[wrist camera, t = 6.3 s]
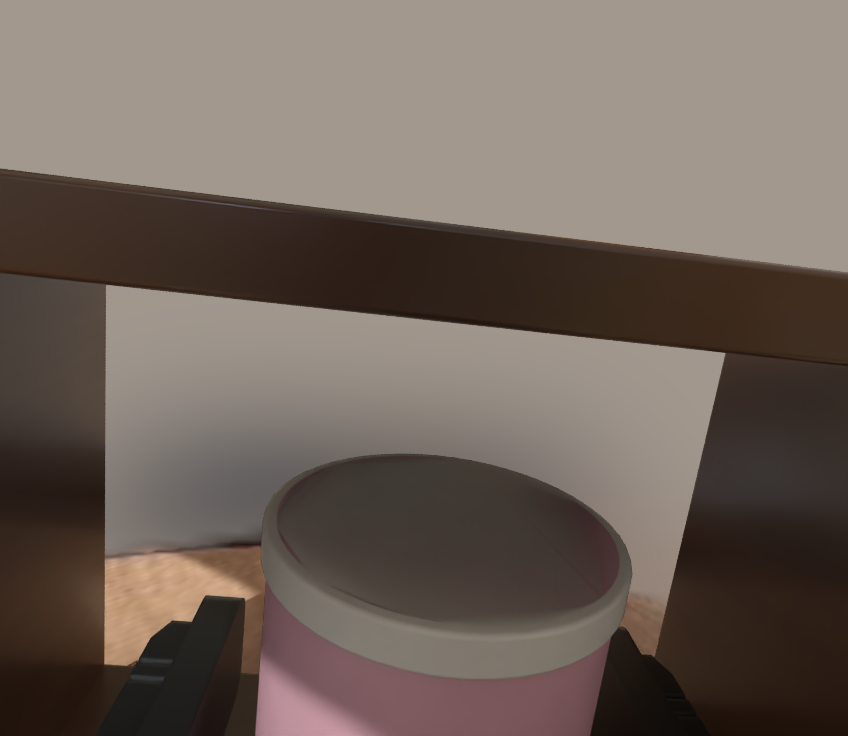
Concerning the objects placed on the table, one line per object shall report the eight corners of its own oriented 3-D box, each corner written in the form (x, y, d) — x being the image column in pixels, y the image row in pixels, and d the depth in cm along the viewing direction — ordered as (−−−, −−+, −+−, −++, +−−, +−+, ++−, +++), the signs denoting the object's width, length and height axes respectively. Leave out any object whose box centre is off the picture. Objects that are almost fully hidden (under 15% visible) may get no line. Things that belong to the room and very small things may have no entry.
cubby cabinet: (-389, 1396, 8) (-775, 72, 4) (78, 689, 19) (75, 179, 16) (1004, 1364, 9) (1544, 357, 6) (661, 724, 21) (773, 264, 17)
